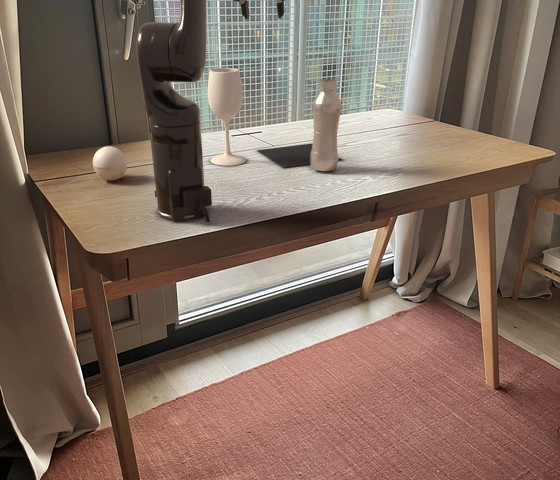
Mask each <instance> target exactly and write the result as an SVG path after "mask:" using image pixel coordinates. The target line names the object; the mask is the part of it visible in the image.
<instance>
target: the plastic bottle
mask: <svg viewBox="0 0 560 480" xmlns="http://www.w3.org/2000/svg"><path fill="white" fill-rule="evenodd" d="M318 83H319V84H318V90H319V92H318V94H317V95H316V96H315V98H314V100H313V102H312V119H313V136H312V150H311V154H310V165H309V166H310V167H311V169H313V170H315V171H319V172H331V171H334V170H335V169H336V168H337V166H338V163H339V161H338V157H339V151H338V133H339V132H338V130H339V124H340V123H339V122H340V118H341V114H342V110H343V109H342V108H343V104H342V101H341V99H340V97H339V95H338V94H337V92H336V91H337V90H338V89H337V80H336V79H334V78H333V79H331V78H321V79H319V82H318Z"/></svg>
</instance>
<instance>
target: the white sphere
mask: <svg viewBox="0 0 560 480" xmlns="http://www.w3.org/2000/svg"><path fill="white" fill-rule="evenodd" d="M90 167H93V170H94V172H95V173H96V174H97V176H98V177H100V178H101V179H103V180H106V181H110V182H111V181H117V180H119V179H120V178H122V177H123V176H124V175H125V174H126V171H127V169H128V160H127V157H126V155H125V154H124V152H122V150H120V149H119V148H117V147H115V146H108V145H107V146H103V147H100V148H99V149H97V151H96V152H95V153H94V155H93V158H92V165H89V166H87V167H83V168H82V170H84V169H87V168H90Z"/></svg>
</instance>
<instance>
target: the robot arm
mask: <svg viewBox="0 0 560 480" xmlns="http://www.w3.org/2000/svg"><path fill="white" fill-rule="evenodd" d="M179 1H180V21H179V22H161V21H160V22H159V21H157V22H156V21H155V22H154V21H153V22H150V21H149V22H144V23H143V24H142V25H141V26H140V27H139V29H138V31H137V32H138V33H137V35H136V42H135V45H136V46H135V50H136V60H137V68H138V73H139V80H140V85H141V92H142V100H143V104H144V105H143V106H144V108H145V111H146V114H147V120H148V129H149V138H150V139H149V140H150V148H151V158H152V167H153V176H154V186H155V190H154V198H156V203H157V214H158V216H160V217H161V218H163V219H167V220H171V221H172V222H180V221H187V220H193V219H198V218H204V219H205V222H206V223H210V222H211V220H210V215H209V212H208V208H207V207H211V206H213V199H212V198H213V197H212V189H211V188H210V187H209V186H208V185H205V184H206V183H205V170H204V169H205V168H204V155H203V141H202V124H201V122H202V121H201V109H200V106H199V105H198V103H196V102H195V101H193V100H192V99H189V98H187V97H185V96H183V95H182V94H180V93H179V92H177V90H175V88H174V87H173V86H172V84H171V83H185V84H186V83H188V84H193V83H198V82H199V81H200V80H201V78H202V77H203V75H204V73H205V69H206V62H207V0H179ZM232 1H233V2H238V3H239V4H240V10H241V15H242V17H244V19H245V20H248V19H249V18H250V8H249V1H248V0H232ZM285 1H286V0H276V11H277V19H279V20H280V19H282V18H283V16H284V14H285V11H286V10H285Z"/></svg>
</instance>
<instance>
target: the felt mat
mask: <svg viewBox="0 0 560 480" xmlns="http://www.w3.org/2000/svg"><path fill="white" fill-rule="evenodd" d="M312 144H313V142H311V143H304V144H296V145H288V146H287V145H286V146H280V147H271V148H263V149H257V152H258V153H260V154H261V155H262V156H264V157H266V158H267V159H269V160H270V161H272V162H273V163H275V164H277V165H278V166H280V168H282V169H288V168H289V169H290V168H296V167H305V166H311V165H310V154H311V150H312ZM341 161H343V158H341V157H339V156H338V162H341Z"/></svg>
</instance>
